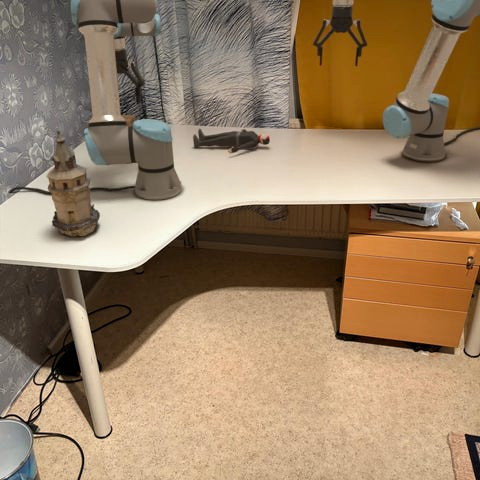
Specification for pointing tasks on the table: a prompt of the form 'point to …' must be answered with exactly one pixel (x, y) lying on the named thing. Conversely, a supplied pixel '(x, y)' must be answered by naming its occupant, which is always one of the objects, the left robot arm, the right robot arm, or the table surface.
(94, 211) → the miniature building
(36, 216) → the table surface
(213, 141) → the toy
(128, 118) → the brick
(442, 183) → the table surface
